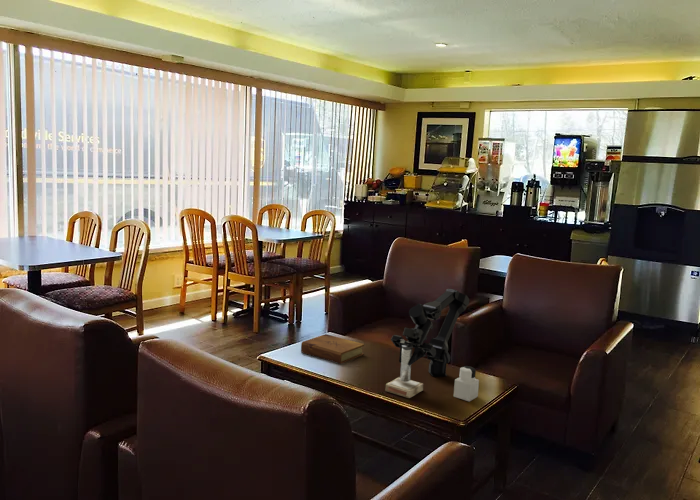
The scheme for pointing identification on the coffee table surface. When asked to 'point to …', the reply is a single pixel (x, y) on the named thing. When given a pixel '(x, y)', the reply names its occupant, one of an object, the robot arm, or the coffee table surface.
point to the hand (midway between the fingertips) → (404, 363)
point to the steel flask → (405, 362)
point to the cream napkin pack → (404, 387)
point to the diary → (332, 348)
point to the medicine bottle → (466, 384)
